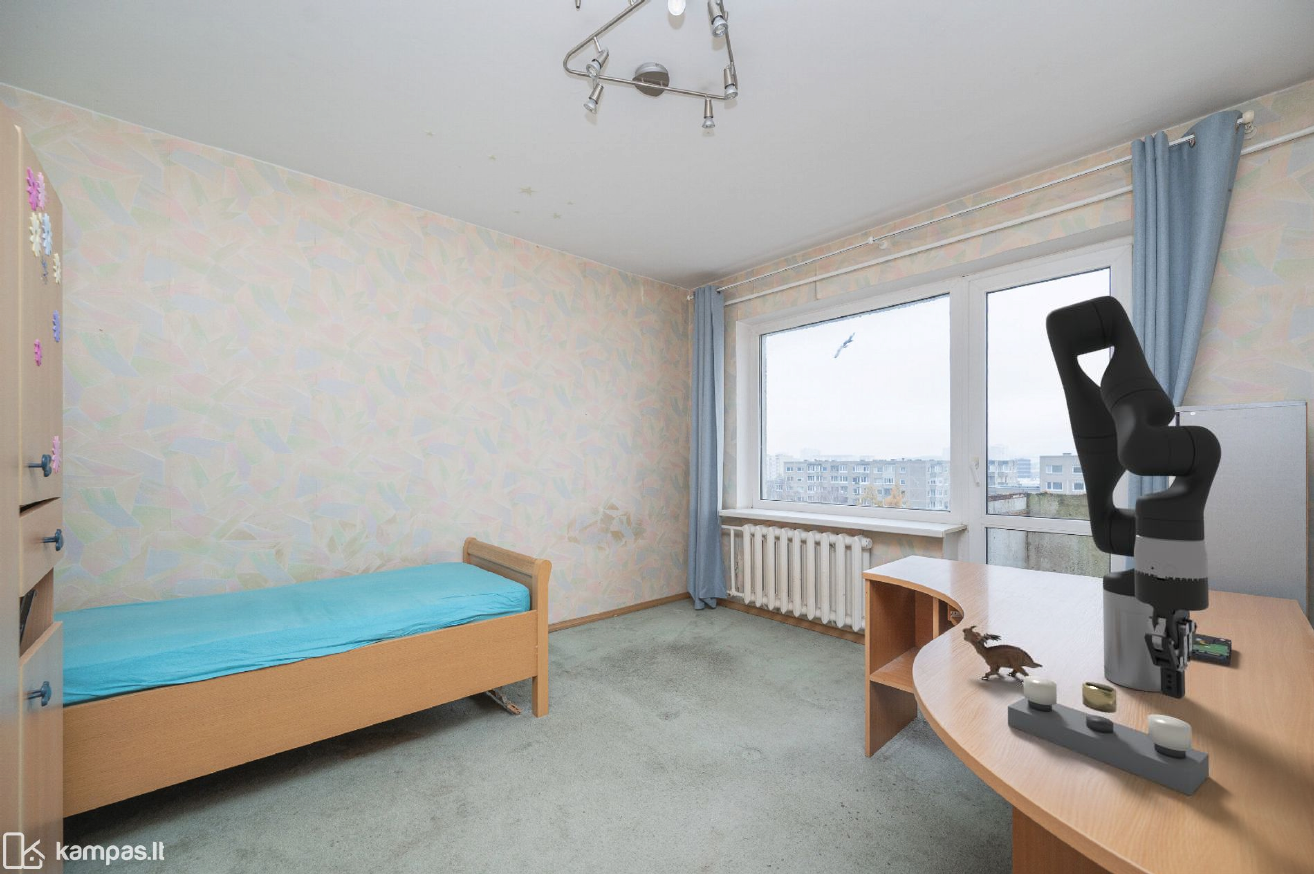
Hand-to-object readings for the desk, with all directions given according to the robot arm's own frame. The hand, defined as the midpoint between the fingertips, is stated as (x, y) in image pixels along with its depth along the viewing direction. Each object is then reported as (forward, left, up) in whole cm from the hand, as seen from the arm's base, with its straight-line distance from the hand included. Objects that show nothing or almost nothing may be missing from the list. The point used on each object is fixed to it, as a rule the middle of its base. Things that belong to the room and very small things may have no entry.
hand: (1173, 695), depth 77 cm
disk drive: (-45, -52, -12) cm, 70 cm away
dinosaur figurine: (+6, -32, -11) cm, 35 cm away
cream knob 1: (+10, -13, -7) cm, 18 cm away
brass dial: (+5, -6, -5) cm, 10 cm away
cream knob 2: (0, 0, -7) cm, 7 cm away
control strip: (+5, -6, -11) cm, 14 cm away
